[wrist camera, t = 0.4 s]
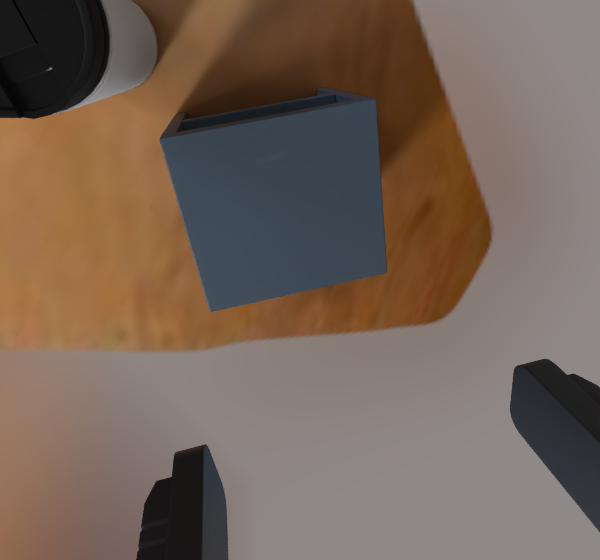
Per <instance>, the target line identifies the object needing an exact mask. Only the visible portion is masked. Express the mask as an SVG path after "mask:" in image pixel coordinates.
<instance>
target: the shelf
mask: <svg viewBox="0 0 600 560" xmlns="http://www.w3.org/2000/svg"><path fill="white" fill-rule="evenodd" d="M317 94H318V95H317V96H312V97H306V98H301V99H295V100H290V101H284V102H279V103H273V104H268V105H262V106H257V107H251V108H246V109H240V110H235V111H229V112H224V113H218V114H213V115H207V116H202V117H196V118H191V119H187V115H186V113H180V114H176V115H175V116H174V118H173V119H172V121H171V122H170V124H169V125H168V127H167V128H166V129H165V131H164V132H163V134H162V136H161V137H160V143H161V146H162V150H163V153H164V157H165V160H166V164H167V167H168V170H169V174H170V177H171V181H172V184H173V188H174V191H175V194H176V198H177V201H178V205H179V208H180V212H181V215H182V218H183V222H184V225H185V229H186V232H187V236H188V239H189V242H190V246H191V249H192V253H193V256H194V260H195V263H196V266H197V270H198V273H199V277H200V280H201V283H202V287H203V290H204V294H205V297H206V301H207V304H208V307H209V311H210V312H213V311H218V310H222V309H227V308H231V307H236V306H240V305H245V304H249V303H254V302H258V301H263V300H267V299H272V298H276V297H281V296H285V295H290V294H294V293H299V292H303V291H308V290H312V289H317V288H321V287H326V286H330V285H335V284H339V283H344V282H348V281H353V280H357V279H362V278H366V277H371V276H375V275H380V274H384V273H387V263H386V248H385V232H384V217H383V201H382V186H381V170H380V155H379V139H378V124H377V108H376V99H375V98H371V97H366V96H362V95H358V94H353V93H349V92H344V91H340V90H336V89H331V88H327V87H324V88H319V89H317Z"/></svg>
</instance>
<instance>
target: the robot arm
mask: <svg viewBox="0 0 600 560" xmlns="http://www.w3.org/2000/svg"><path fill="white" fill-rule="evenodd" d="M510 413H511V417H512V420H513V423H514V425H515V427H516V428H517V430H518V432H519V433H520V434H521V435H522V437H523V438H524V439H525V440H526V442H527V443H528V444H529V445H530V447H531V448H532V449H533V450H534V452H535V453H536V454H537V455H538V456H539V458H540V459H541V460H542V461H543V463H544V464H545V465H546V466H547V467H548V469H549V470H550V471H551V473H552V474H553V475H554V476H555V477H556V479H557V480H558V481H559V482H560V484H561V485H562V486H563V487H564V488H565V490H566V491H567V492H568V493H569V495H570V496H571V497H572V498H573V500H574V501H575V502H576V503H577V505H578V506H579V507H580V508H581V510H582V511H583V512H584V513H585V515H586V516H587V517H588V518H589V519H590V521H591V522H592V523H593V524H594V526H595V527H596V528H597V529H598V531H599V532H600V387H599V386H597V385H595V384H594V383H592V382H590V381H588V380H586V379H584V378H582V377H580V376H578V375H576V374H570V375H566V374H565V373H564V372H563V371H562V370H561V369H560V368H559V367H558V366H557V365H556V364H554V363H553V362H552V361H550V360H548V359H542V360H538V361H534V362H530V363H526V364H522V365H518V366H516V367H515V369H514V374H513V383H512V393H511V404H510ZM141 528H142V531H141V532H140V539H139V545H138V547H139V551H138V552H137V559H136V560H228V535H227V508H226V499H225V493H224V489H223V485H222V482H221V479H220V477H219V474H218V471H217V469H216V466H215V464H214V461H213V458H212V456H211V453H210V450H209V448H208V446H207V445H206V444H205V445H202V446H198V447H194V448H190V449H186V450H182V451H179V452H176V453H175V455H174V461H173V472H172V477H171V478H167V479H163V480H159V481H157V482H156V483H155V485H154V487H153V488H152V490H151V492H150V494H149V496H148V498H147V500H146V502H145V504H144V511H143V518H142V525H141Z"/></svg>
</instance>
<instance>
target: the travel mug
mask: <svg viewBox="0 0 600 560" xmlns="http://www.w3.org/2000/svg"><path fill="white" fill-rule="evenodd" d="M157 58H158V42H157V36H156V33H155V30H154V27H153V25H152V23H151V21H150V19H149V18H148V16H147V15H146V14H145V12H144V11H143V10H142V9H141V8H140V7H139V6H138V5H137V4H136V3H135V2H134V1H133V0H0V118H21V117H25V118H31V119H35V118H39V117H43V116H47V115H51V114H57V113H61V112H65V111H69V110H71V109H75V108H78V107H81V106H84V105H87V104H90V103H92V102H95V101H98V100H101V99H104V98H107V97H110V96H113V95H116V94H119V93H122V92H125V91H128V90H131V89H133V88H135V87H138V86H140V85H141V84H142V83H144V82H145V81H146V80H147V79H148V78H149V76H150V75H151V74H152V72H153V70H154V68H155V66H156V62H157Z"/></svg>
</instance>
